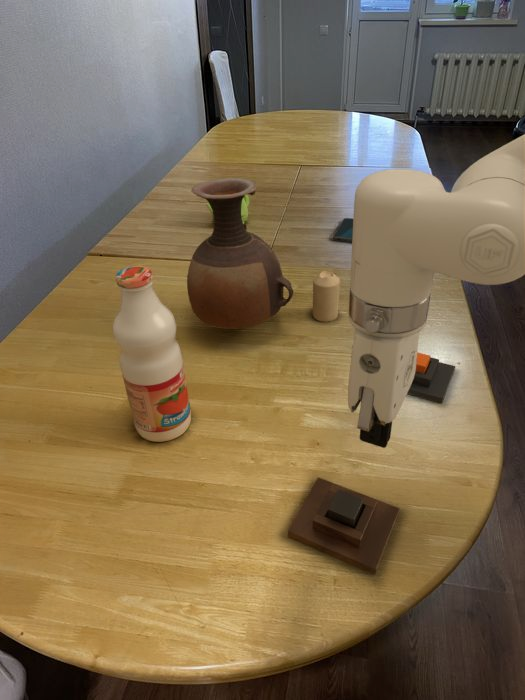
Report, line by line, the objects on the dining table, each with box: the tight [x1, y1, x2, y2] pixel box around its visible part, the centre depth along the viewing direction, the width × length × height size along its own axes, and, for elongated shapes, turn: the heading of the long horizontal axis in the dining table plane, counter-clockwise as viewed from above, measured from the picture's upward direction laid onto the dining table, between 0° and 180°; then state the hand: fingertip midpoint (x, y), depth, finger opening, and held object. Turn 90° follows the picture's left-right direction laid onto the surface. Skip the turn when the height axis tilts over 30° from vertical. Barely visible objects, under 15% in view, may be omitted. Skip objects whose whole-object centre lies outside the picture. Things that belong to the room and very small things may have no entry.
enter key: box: [415, 351, 431, 374], centre depth 92 cm, size 4×4×2 cm
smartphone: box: [332, 217, 353, 243], centre depth 148 cm, size 8×15×1 cm, turn 160°
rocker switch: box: [327, 489, 364, 528], centre depth 67 cm, size 4×4×2 cm
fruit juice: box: [112, 265, 192, 443], centre depth 79 cm, size 9×9×28 cm
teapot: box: [205, 194, 251, 224], centre depth 155 cm, size 12×12×10 cm
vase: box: [186, 177, 294, 330], centre depth 101 cm, size 23×19×30 cm
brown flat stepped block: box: [287, 477, 401, 575], centre depth 68 cm, size 12×10×3 cm
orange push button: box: [407, 356, 456, 404], centre depth 93 cm, size 12×10×3 cm
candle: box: [312, 270, 341, 322], centre depth 110 cm, size 6×6×10 cm
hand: (374, 439), depth 61 cm, fingers closed
